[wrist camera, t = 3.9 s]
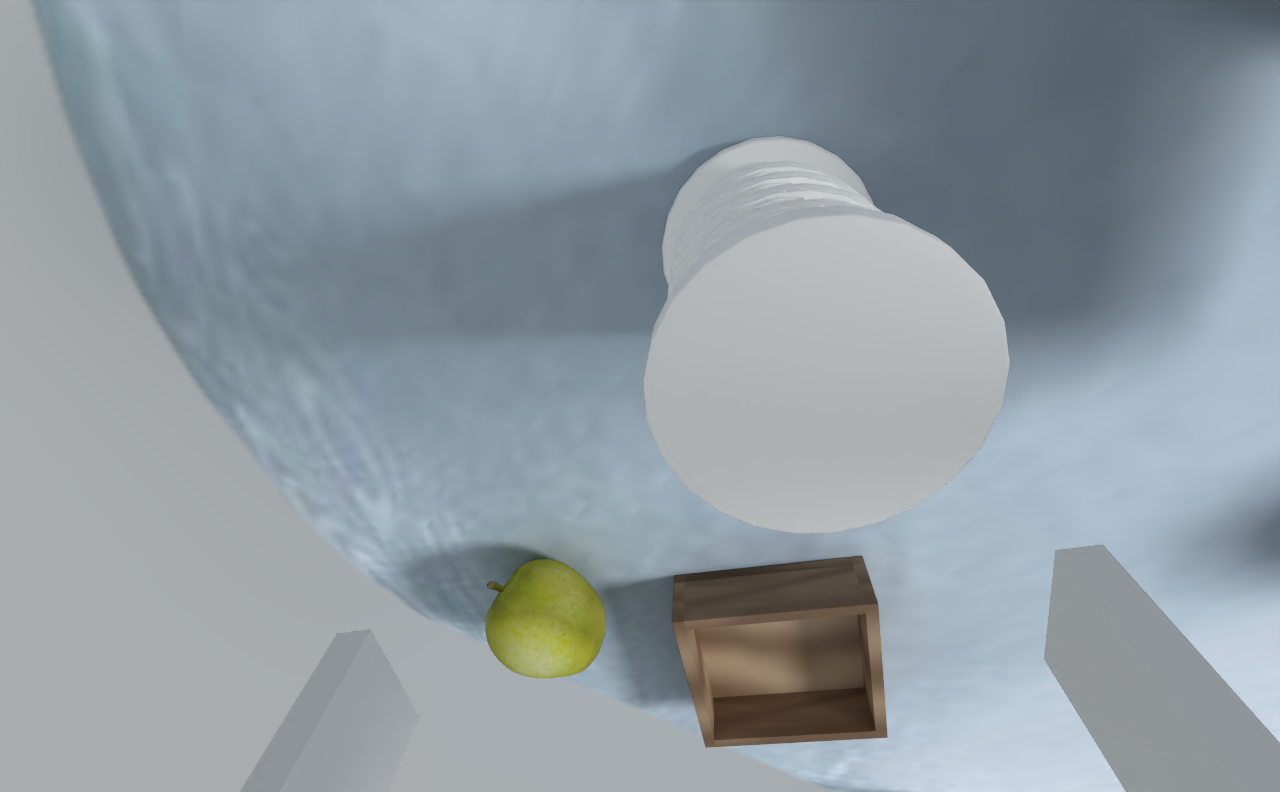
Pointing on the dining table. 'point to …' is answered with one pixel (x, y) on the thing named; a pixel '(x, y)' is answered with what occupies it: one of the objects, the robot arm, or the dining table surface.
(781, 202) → the decorative container
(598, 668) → the dining table surface
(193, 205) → the dining table surface
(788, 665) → the walnut box
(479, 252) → the dining table surface
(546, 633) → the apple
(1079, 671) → the robot arm
